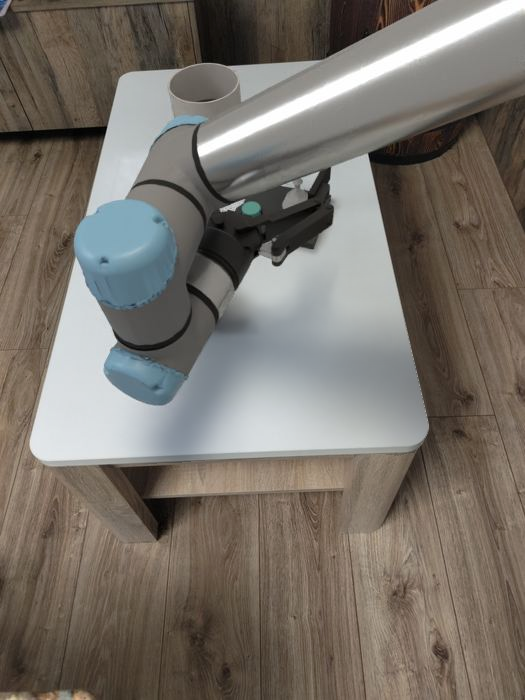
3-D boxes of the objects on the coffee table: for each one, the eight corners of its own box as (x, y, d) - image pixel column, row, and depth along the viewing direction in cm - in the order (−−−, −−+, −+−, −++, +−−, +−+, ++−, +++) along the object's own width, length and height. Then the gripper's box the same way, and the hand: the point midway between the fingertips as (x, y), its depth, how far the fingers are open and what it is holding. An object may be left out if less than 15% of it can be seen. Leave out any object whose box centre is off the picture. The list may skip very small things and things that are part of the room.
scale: (331, 200, 86) (332, 186, 84) (311, 253, 80) (312, 240, 78) (254, 186, 89) (253, 172, 87) (229, 236, 83) (228, 223, 80)
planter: (215, 107, 103) (208, 55, 94) (257, 134, 97) (254, 81, 88) (165, 135, 98) (153, 83, 90) (206, 165, 93) (197, 112, 84)
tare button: (263, 211, 82) (262, 203, 80) (257, 224, 80) (257, 215, 79) (246, 208, 83) (245, 199, 81) (240, 220, 81) (239, 212, 80)
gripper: (119, 267, 61) (198, 162, 71) (311, 328, 55) (367, 203, 65) (99, 221, 55) (189, 113, 65) (314, 284, 49) (375, 153, 59)
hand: (278, 158), depth 65 cm, fingers open, 13 cm apart
